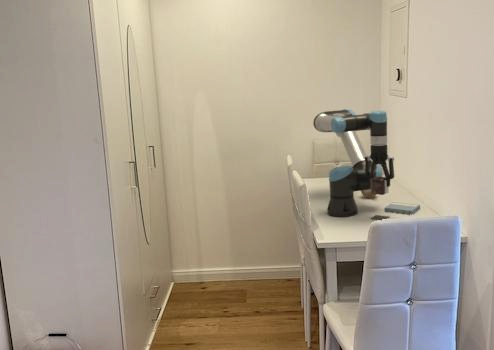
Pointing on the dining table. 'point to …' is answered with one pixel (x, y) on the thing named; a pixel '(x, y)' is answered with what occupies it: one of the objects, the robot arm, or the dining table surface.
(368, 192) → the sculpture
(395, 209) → the ticket board
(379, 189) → the box
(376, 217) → the stub mat
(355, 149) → the robot arm
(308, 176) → the dining table surface
